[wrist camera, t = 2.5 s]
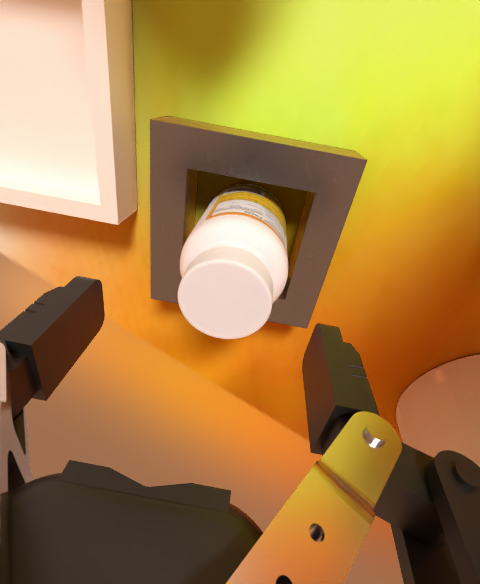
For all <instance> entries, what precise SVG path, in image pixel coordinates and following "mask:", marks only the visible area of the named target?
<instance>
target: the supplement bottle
mask: <svg viewBox="0 0 480 584" xmlns="http://www.w3.org/2000/svg"><path fill="white" fill-rule="evenodd" d="M180 273H181V277H182V280H181V282H180V284H179V288H178V303H179V307H180V309H181V312H182V314H183V315H184V317H185V318H186V319H187V321H188V322H189V323H190V324H191V325H192V326H193V327H195V328H196V329H197V330H199V331H200V332H202V333H204V334H206V335H209V336H212V337H215V338H220V339H237V338H242V337H246V336H248V335H250V334H253V333H254V332H256V331H257V330H259V329H260V328H261V327H262V326H263V325H264V324H265V322H266V321H267V320H268V318H269V315H270V313H271V309H272V304H273V303H274V302H275V301H276V300H277V299H278V297H279V296H280V294H281V293H282V291H283V289H284V287H285V284H286V281H287V277H288V253H287V233H286V220H285V215H284V211H283V209H282V207H281V205H280V203H279V201H278V200H277V199H276V198H275V196H274V195H273V194H271V193H270V192H269V191H267V190H266V189H264V188H262V187H259V186H257V185H253V184H236V185H233V186H230V187H227V188H225V189H224V190H222V191H221V192H219V193H218V194H217V195H216V196H215V197H214V199H213V200H212V201H211V203H210V204H209V206H208V207H207V209H206V210H205V212H204V213H203V215H202V217H201V218H200V220H199V221H198V223H197V224H196V226H195V227H194V229H193V230H192V232H191V233H190V235H189V236H188V238H187V240H186V242H185V244H184V246H183V249H182V252H181V257H180Z"/></svg>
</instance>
